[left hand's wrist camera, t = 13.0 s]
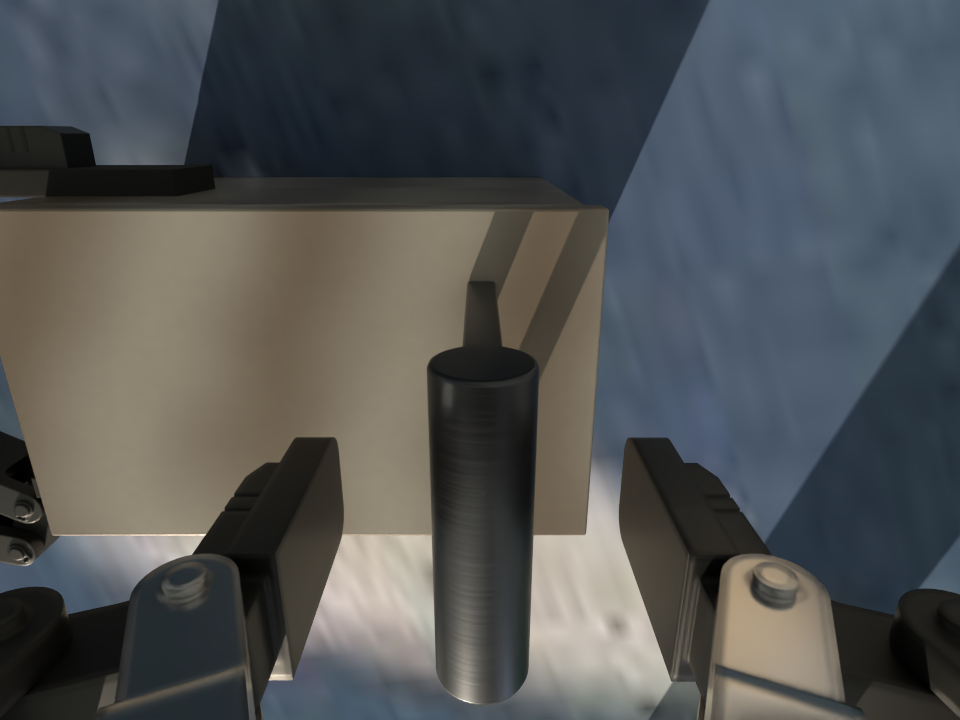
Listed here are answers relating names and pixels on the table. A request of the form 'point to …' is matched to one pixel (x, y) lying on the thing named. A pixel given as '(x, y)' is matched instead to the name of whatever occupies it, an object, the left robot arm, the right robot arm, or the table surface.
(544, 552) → the table surface
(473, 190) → the chest
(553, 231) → the lid
